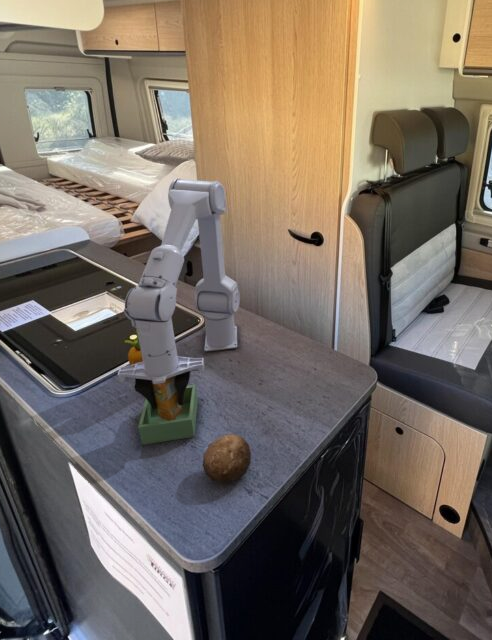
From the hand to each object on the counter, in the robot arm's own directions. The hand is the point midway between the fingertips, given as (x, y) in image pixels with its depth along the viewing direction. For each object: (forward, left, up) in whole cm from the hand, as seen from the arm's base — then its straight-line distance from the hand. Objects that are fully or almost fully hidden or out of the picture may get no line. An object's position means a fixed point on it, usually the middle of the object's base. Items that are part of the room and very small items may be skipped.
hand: (168, 403), depth 75 cm
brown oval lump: (+13, +11, -5) cm, 18 cm away
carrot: (-10, -6, -5) cm, 13 cm away
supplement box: (0, 0, -3) cm, 3 cm away
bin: (0, 0, -5) cm, 5 cm away
